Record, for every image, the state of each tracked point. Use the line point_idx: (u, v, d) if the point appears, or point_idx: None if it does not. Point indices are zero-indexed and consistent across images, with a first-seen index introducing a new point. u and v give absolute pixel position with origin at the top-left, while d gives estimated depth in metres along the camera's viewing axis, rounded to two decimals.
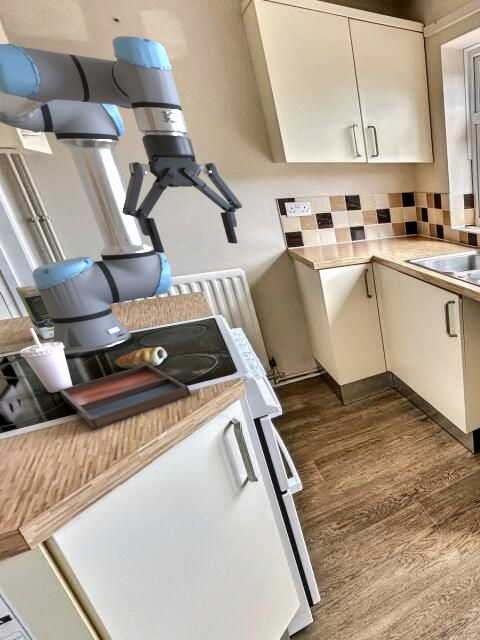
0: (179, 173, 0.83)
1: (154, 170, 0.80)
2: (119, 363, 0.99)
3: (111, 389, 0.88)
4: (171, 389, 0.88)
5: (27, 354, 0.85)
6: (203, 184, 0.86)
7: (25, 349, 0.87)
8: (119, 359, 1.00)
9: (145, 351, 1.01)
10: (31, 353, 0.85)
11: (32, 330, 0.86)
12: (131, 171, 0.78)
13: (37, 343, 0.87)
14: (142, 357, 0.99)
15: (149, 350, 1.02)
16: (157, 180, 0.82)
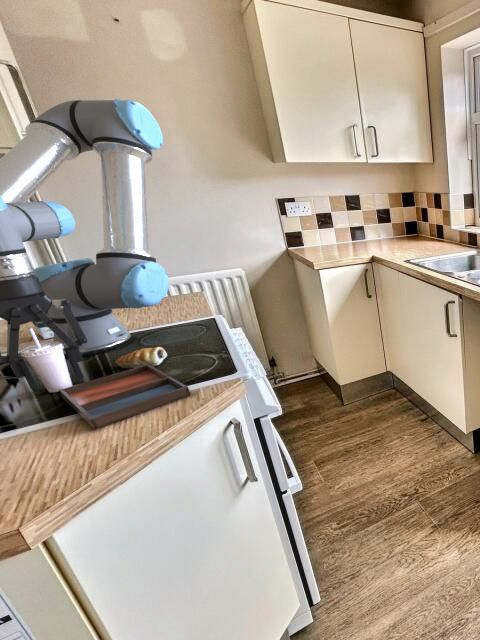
0: (26, 310, 0.84)
1: None
2: (119, 363, 0.99)
3: (111, 389, 0.88)
4: (171, 389, 0.88)
5: (27, 354, 0.85)
6: (48, 321, 0.87)
7: (25, 349, 0.87)
8: (119, 359, 1.00)
9: (145, 351, 1.01)
10: (31, 353, 0.85)
11: (31, 330, 0.86)
12: None
13: (36, 343, 0.86)
14: (142, 357, 0.99)
15: (149, 350, 1.02)
16: None
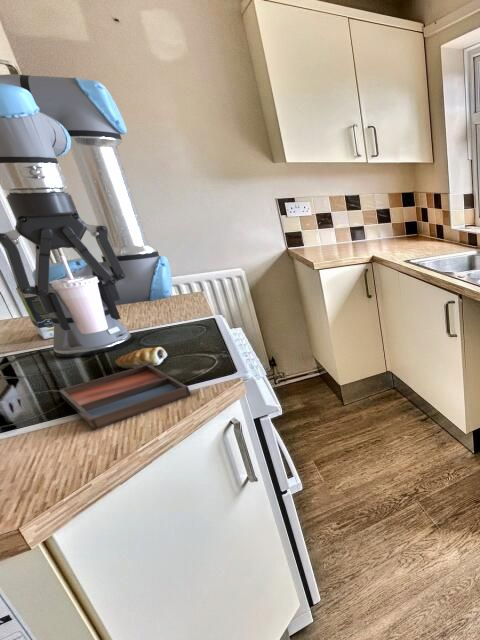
0: (57, 233, 0.72)
1: (25, 234, 0.69)
2: (119, 363, 0.99)
3: (111, 389, 0.88)
4: (171, 389, 0.88)
5: (58, 285, 0.72)
6: (82, 248, 0.74)
7: (55, 281, 0.74)
8: (119, 359, 1.00)
9: (145, 351, 1.01)
10: (62, 284, 0.72)
11: (63, 258, 0.73)
12: (1, 244, 0.68)
13: (69, 274, 0.74)
14: (142, 357, 0.99)
15: (149, 350, 1.02)
16: (37, 245, 0.72)
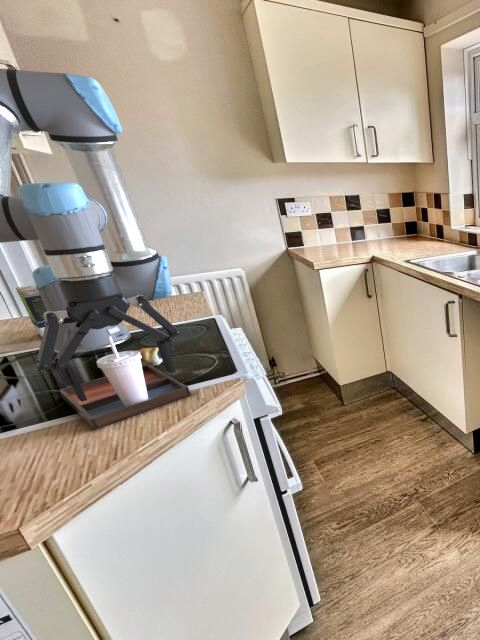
0: (104, 314, 0.76)
1: (72, 316, 0.73)
2: None
3: (111, 389, 0.88)
4: (171, 389, 0.88)
5: (105, 365, 0.77)
6: (132, 320, 0.79)
7: (101, 359, 0.78)
8: None
9: (145, 351, 1.01)
10: (110, 364, 0.77)
11: (110, 338, 0.77)
12: (45, 321, 0.71)
13: (115, 353, 0.78)
14: (142, 357, 0.99)
15: (149, 350, 1.02)
16: (78, 323, 0.75)
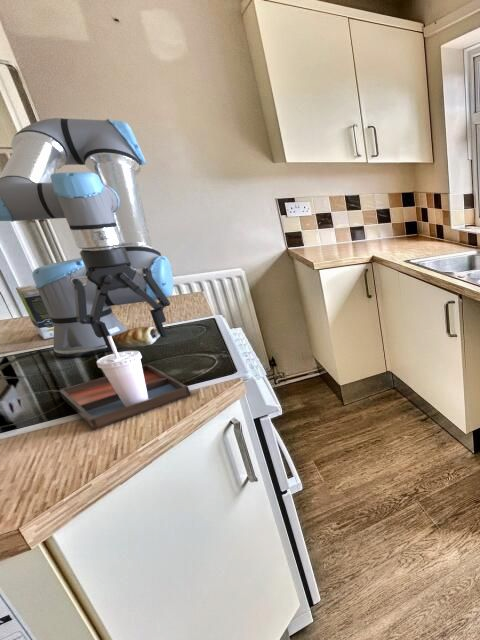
0: (115, 278, 0.95)
1: (92, 280, 0.92)
2: None
3: (111, 389, 0.88)
4: (171, 389, 0.88)
5: (106, 365, 0.77)
6: (135, 287, 0.97)
7: (102, 359, 0.78)
8: None
9: (138, 330, 0.99)
10: (110, 364, 0.77)
11: (110, 338, 0.77)
12: (73, 286, 0.90)
13: (115, 353, 0.78)
14: (135, 336, 0.98)
15: (142, 329, 1.00)
16: (98, 286, 0.94)
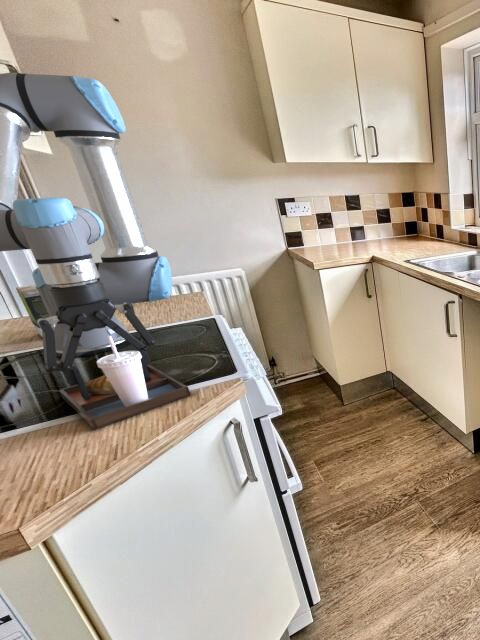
0: (91, 317, 0.82)
1: (63, 320, 0.79)
2: (87, 389, 0.85)
3: None
4: (171, 389, 0.88)
5: (106, 365, 0.77)
6: (115, 326, 0.85)
7: (102, 359, 0.78)
8: (87, 384, 0.85)
9: None
10: (110, 364, 0.77)
11: (110, 338, 0.77)
12: None
13: (115, 352, 0.78)
14: None
15: None
16: (71, 327, 0.82)
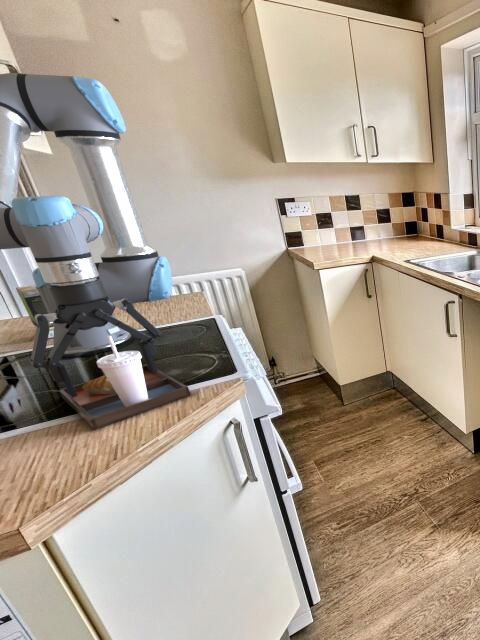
0: (90, 316, 0.82)
1: (61, 318, 0.79)
2: (87, 389, 0.85)
3: None
4: (171, 389, 0.88)
5: (106, 365, 0.77)
6: (117, 322, 0.85)
7: (102, 359, 0.78)
8: (87, 384, 0.85)
9: None
10: (110, 364, 0.77)
11: (110, 338, 0.77)
12: (37, 323, 0.78)
13: (115, 353, 0.78)
14: None
15: None
16: (67, 324, 0.81)
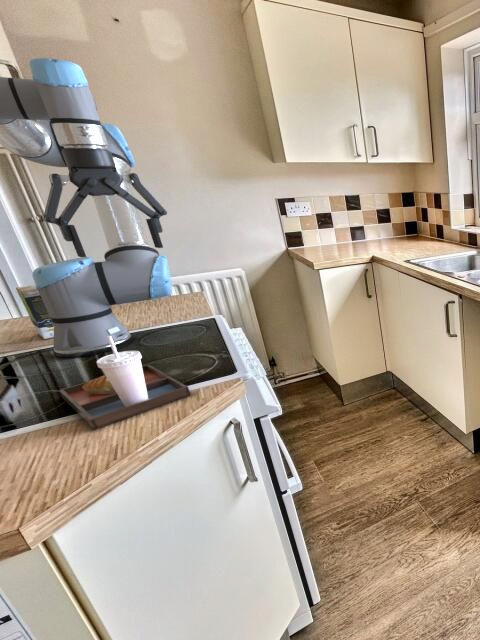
0: (100, 183, 0.89)
1: (74, 180, 0.86)
2: (87, 389, 0.85)
3: None
4: (171, 389, 0.88)
5: (106, 365, 0.77)
6: (125, 193, 0.92)
7: (102, 359, 0.78)
8: (87, 384, 0.85)
9: None
10: (110, 364, 0.77)
11: (110, 338, 0.77)
12: (51, 182, 0.84)
13: (115, 353, 0.78)
14: None
15: None
16: (79, 189, 0.88)
